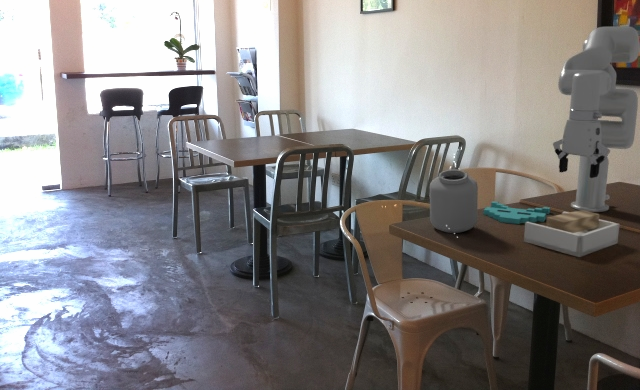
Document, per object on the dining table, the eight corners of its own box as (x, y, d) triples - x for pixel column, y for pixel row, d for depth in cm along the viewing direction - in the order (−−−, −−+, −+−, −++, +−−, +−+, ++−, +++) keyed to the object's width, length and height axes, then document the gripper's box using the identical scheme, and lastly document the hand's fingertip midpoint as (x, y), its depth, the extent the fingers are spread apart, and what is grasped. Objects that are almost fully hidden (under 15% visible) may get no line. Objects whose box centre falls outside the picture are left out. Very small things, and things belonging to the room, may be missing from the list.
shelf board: (580, 222, 194) (581, 209, 193) (598, 227, 189) (599, 214, 188) (545, 230, 186) (546, 217, 185) (563, 235, 181) (564, 222, 180)
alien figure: (492, 207, 231) (478, 220, 214) (492, 201, 230) (478, 214, 213) (549, 213, 222) (540, 228, 205) (550, 207, 221) (540, 221, 204)
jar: (468, 241, 190) (473, 159, 184) (421, 235, 196) (423, 155, 190) (480, 224, 207) (484, 149, 201) (436, 220, 213) (439, 146, 207)
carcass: (562, 229, 201) (564, 211, 200) (617, 243, 187) (619, 223, 186) (523, 241, 189) (525, 222, 188) (579, 257, 176) (581, 236, 174)
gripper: (619, 117, 176) (613, 177, 180) (563, 112, 189) (559, 168, 194) (605, 120, 172) (599, 181, 176) (549, 114, 185) (544, 171, 189)
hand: (578, 174), depth 185 cm, fingers open, 9 cm apart
